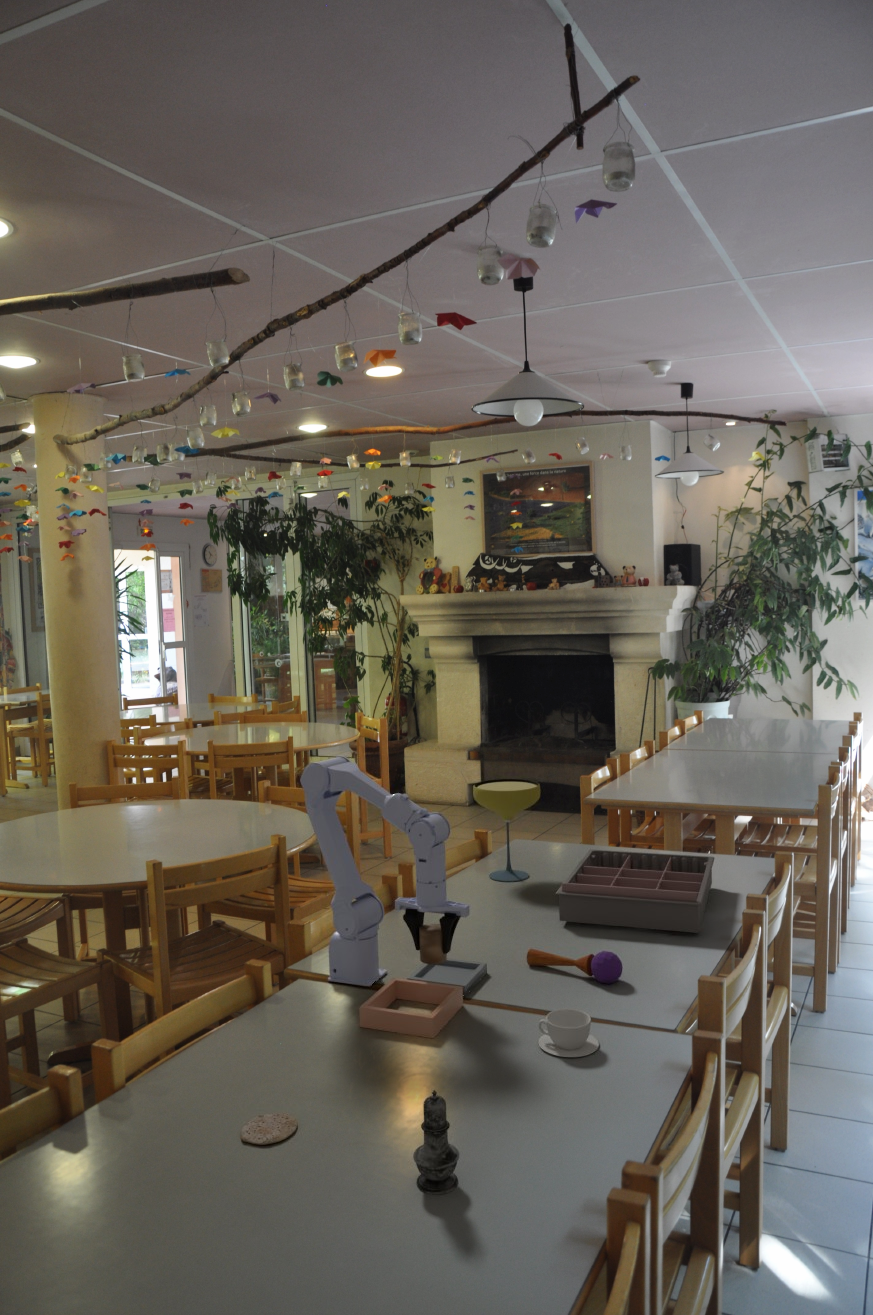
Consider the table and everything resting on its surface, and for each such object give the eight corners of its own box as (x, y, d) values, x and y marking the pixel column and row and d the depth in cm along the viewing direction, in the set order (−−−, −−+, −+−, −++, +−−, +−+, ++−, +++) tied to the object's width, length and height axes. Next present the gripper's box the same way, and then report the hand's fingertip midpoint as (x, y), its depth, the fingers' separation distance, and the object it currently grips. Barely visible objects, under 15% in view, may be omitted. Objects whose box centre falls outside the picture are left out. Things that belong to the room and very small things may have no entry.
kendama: (538, 940, 195) (627, 951, 183) (538, 970, 194) (627, 983, 182) (523, 943, 191) (613, 955, 179) (523, 974, 190) (613, 988, 178)
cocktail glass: (461, 877, 256) (459, 785, 255) (507, 863, 269) (504, 776, 267) (511, 890, 243) (508, 794, 242) (556, 875, 255) (554, 783, 254)
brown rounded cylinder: (415, 962, 177) (414, 931, 177) (426, 953, 182) (425, 922, 182) (440, 965, 175) (439, 934, 175) (450, 956, 180) (449, 925, 180)
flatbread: (272, 1112, 139) (272, 1105, 139) (308, 1128, 134) (308, 1121, 134) (228, 1137, 133) (228, 1130, 132) (264, 1155, 128) (263, 1148, 128)
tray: (407, 988, 182) (407, 978, 182) (431, 966, 193) (431, 956, 193) (465, 996, 177) (465, 986, 177) (486, 973, 188) (486, 963, 188)
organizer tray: (715, 887, 241) (714, 849, 240) (702, 941, 203) (701, 895, 203) (590, 879, 252) (589, 842, 251) (555, 927, 214) (554, 884, 214)
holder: (359, 1027, 166) (359, 1007, 166) (393, 996, 179) (393, 977, 178) (433, 1038, 160) (432, 1018, 160) (462, 1005, 173) (462, 987, 173)
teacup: (603, 1036, 160) (603, 1009, 159) (593, 1063, 150) (592, 1035, 150) (545, 1029, 163) (545, 1003, 163) (532, 1055, 154) (531, 1027, 153)
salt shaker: (412, 1170, 123) (409, 1080, 122) (457, 1167, 123) (454, 1077, 123) (415, 1198, 117) (412, 1104, 116) (462, 1194, 117) (459, 1100, 117)
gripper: (386, 882, 177) (389, 953, 178) (458, 888, 171) (461, 962, 172) (402, 872, 184) (405, 940, 184) (472, 878, 178) (474, 949, 179)
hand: (433, 950), depth 179 cm, fingers closed on brown rounded cylinder, 5 cm apart
